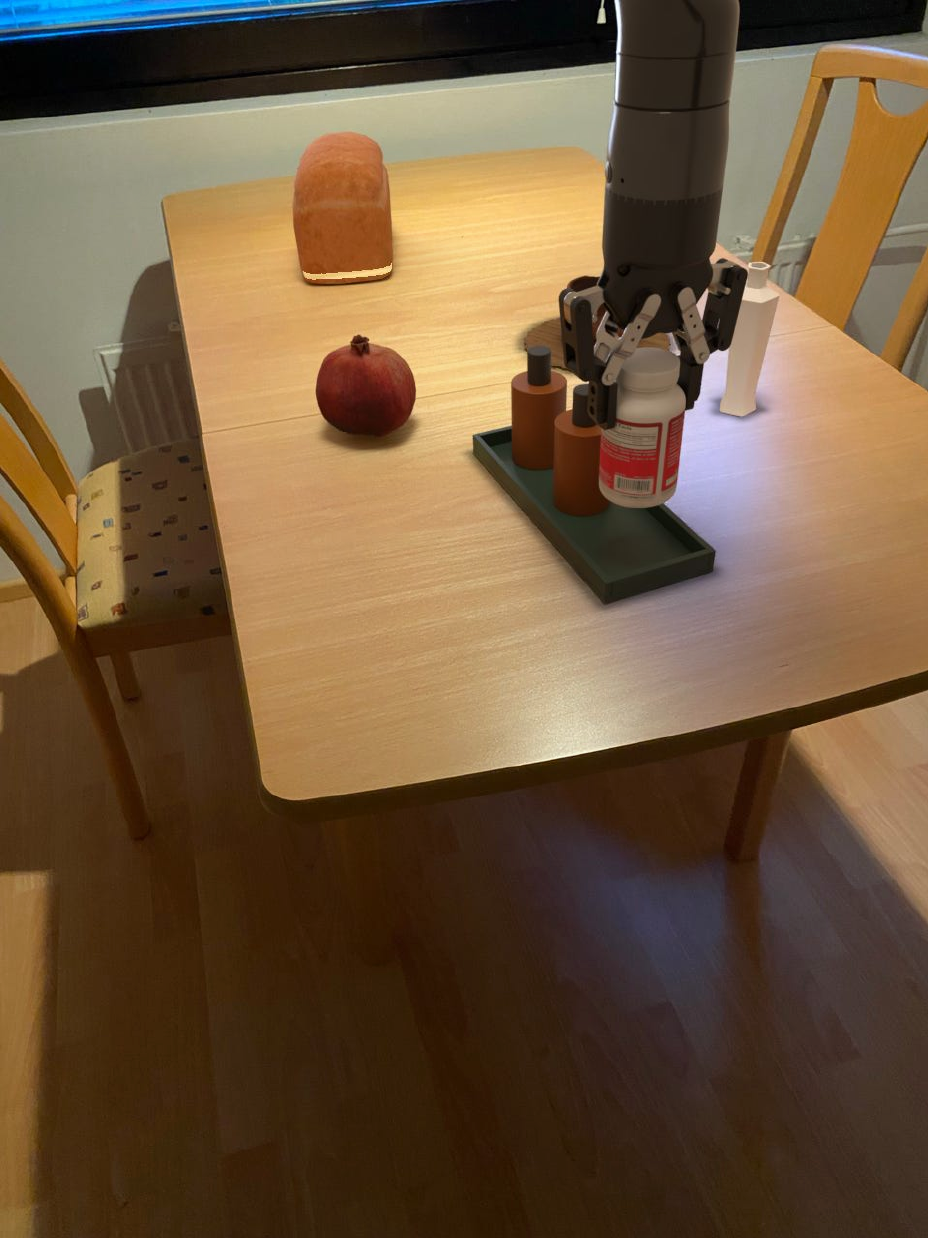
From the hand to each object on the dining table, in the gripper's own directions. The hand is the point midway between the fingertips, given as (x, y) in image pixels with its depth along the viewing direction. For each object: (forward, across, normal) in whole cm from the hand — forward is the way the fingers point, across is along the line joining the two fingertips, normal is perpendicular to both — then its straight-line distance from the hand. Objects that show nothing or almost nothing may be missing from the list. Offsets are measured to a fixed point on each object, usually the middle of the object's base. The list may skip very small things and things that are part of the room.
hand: (643, 414), depth 70 cm
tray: (+13, 0, +9) cm, 16 cm away
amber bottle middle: (+13, 0, +9) cm, 16 cm away
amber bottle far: (+13, 0, +18) cm, 22 cm away
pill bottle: (+7, 0, 0) cm, 7 cm away
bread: (+14, +2, +88) cm, 89 cm away
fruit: (+14, -13, +32) cm, 37 cm away
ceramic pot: (+14, +19, +41) cm, 47 cm away
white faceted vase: (+14, +24, +19) cm, 34 cm away
